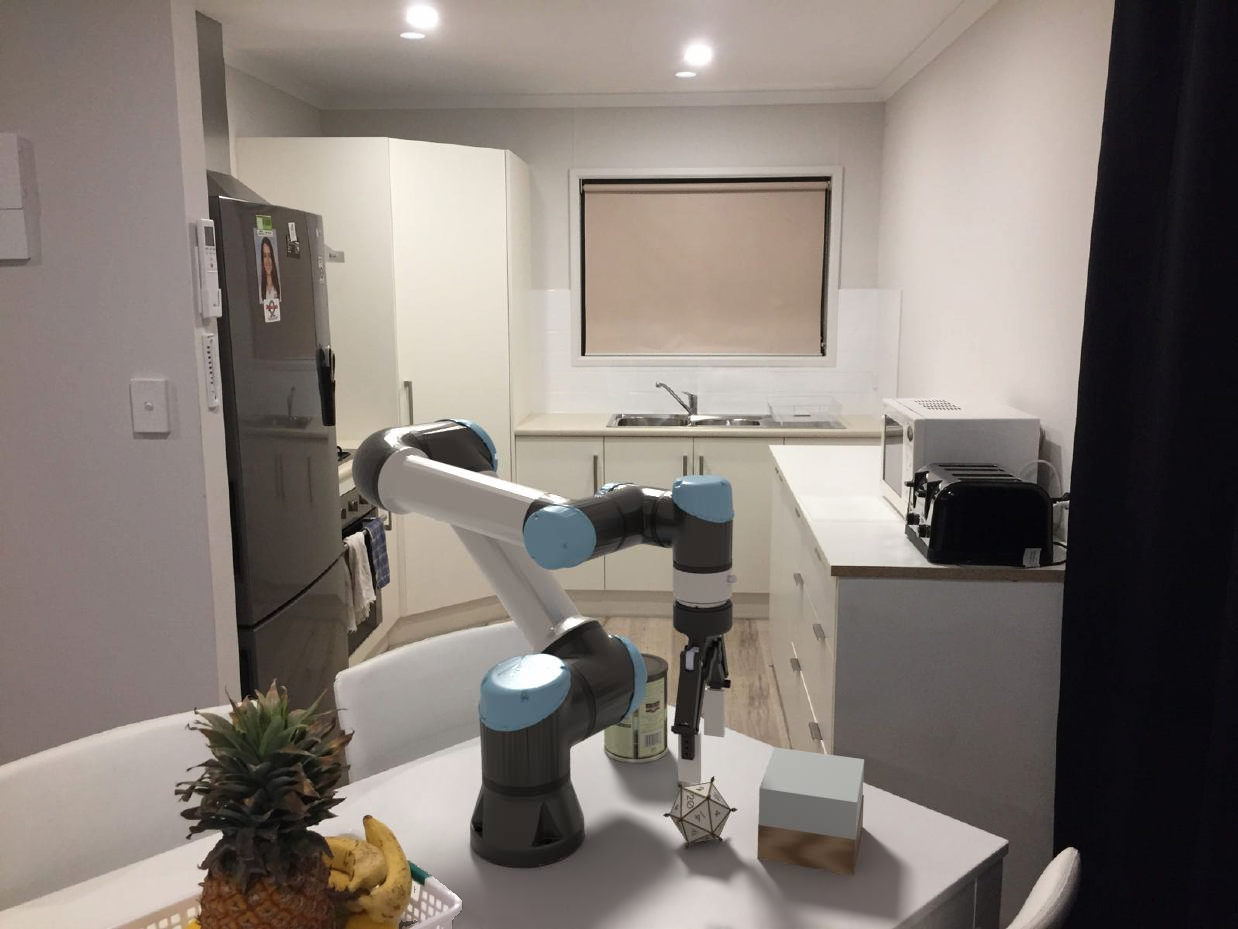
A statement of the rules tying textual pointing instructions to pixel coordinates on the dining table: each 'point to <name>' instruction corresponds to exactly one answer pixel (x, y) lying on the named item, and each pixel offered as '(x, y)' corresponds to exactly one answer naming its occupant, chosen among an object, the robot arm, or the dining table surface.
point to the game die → (700, 812)
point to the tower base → (810, 848)
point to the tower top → (812, 793)
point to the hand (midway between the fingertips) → (702, 757)
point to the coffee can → (643, 721)
